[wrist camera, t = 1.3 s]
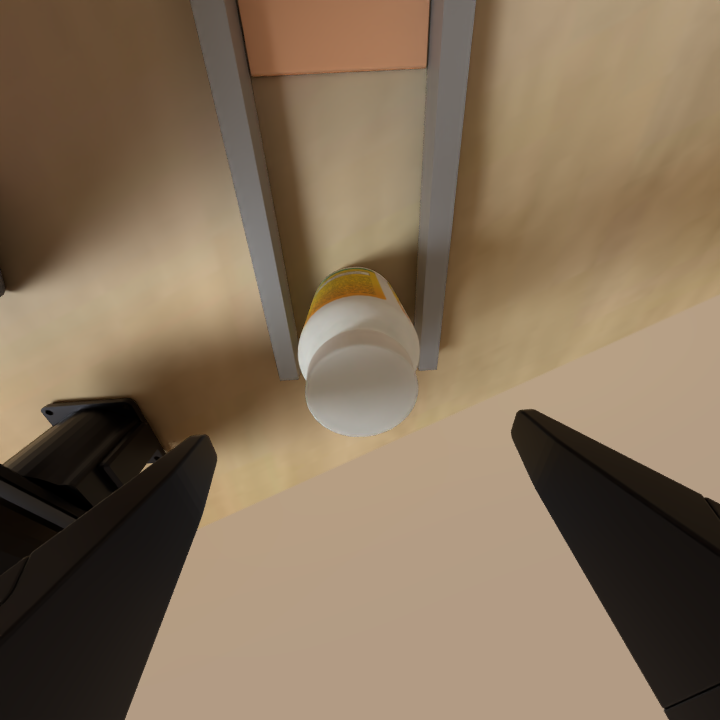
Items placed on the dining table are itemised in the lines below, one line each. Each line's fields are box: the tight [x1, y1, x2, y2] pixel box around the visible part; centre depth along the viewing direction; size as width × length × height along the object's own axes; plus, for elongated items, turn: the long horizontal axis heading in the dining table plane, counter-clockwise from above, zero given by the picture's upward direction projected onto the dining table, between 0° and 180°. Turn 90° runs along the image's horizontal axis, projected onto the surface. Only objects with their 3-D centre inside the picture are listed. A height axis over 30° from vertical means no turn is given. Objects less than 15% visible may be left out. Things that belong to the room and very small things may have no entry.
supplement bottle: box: [298, 267, 420, 437], centre depth 14 cm, size 5×5×10 cm
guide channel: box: [190, 0, 476, 381], centre depth 12 cm, size 11×24×4 cm, turn 3°
